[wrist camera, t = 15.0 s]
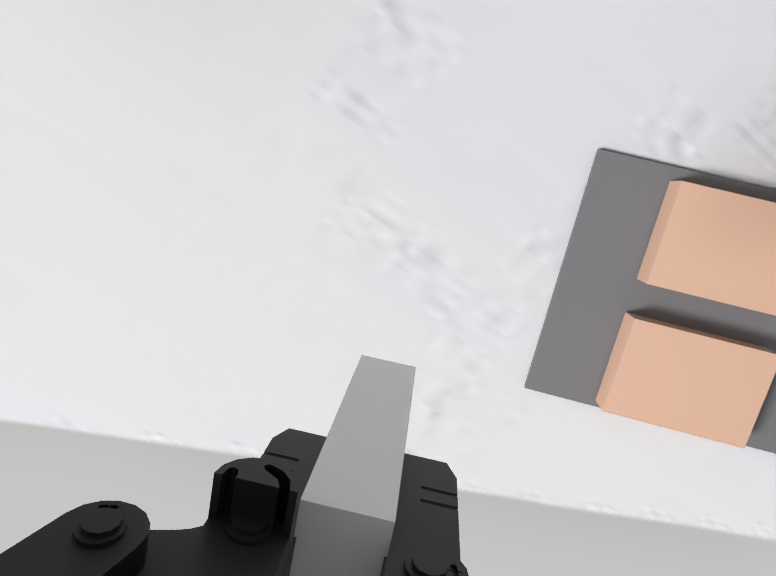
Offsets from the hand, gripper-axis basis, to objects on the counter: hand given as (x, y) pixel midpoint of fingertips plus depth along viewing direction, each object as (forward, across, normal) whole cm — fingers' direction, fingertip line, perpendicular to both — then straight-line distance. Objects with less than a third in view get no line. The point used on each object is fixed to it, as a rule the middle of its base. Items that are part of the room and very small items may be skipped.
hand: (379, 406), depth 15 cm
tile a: (+25, +16, +5) cm, 30 cm away
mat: (+26, +20, 0) cm, 33 cm away
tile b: (+25, +15, -4) cm, 29 cm away
